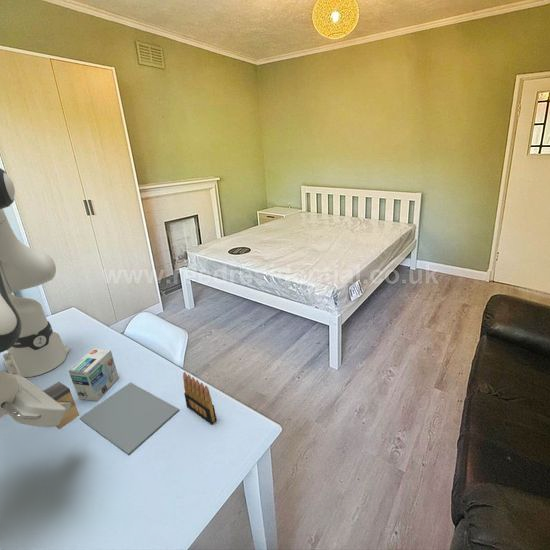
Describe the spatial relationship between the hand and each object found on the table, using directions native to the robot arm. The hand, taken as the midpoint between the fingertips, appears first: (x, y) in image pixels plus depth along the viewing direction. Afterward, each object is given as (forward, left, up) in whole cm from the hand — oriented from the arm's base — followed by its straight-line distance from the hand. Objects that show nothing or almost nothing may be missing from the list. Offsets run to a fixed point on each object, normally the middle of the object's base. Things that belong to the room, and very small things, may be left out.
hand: (61, 401), depth 74 cm
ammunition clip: (+17, +24, -16) cm, 33 cm away
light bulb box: (-18, +15, -16) cm, 29 cm away
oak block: (0, -1, -4) cm, 4 cm away
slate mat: (0, +13, -16) cm, 21 cm away
